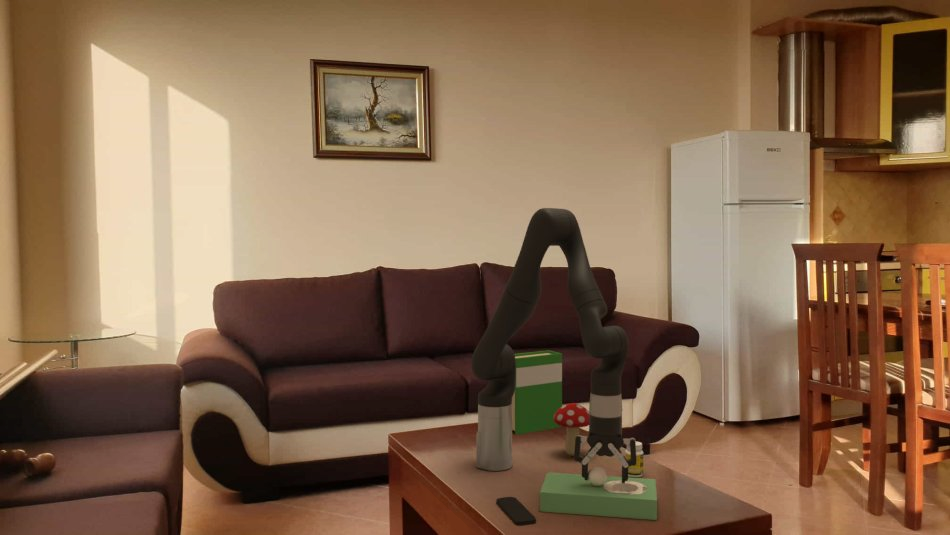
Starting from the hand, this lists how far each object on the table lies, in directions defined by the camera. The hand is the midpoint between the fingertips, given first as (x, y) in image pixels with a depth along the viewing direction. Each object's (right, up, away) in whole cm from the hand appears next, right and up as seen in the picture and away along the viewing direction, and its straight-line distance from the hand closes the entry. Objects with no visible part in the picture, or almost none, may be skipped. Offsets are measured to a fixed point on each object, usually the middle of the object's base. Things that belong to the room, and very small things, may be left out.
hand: (604, 480), depth 176 cm
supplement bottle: (+11, -5, +22) cm, 25 cm away
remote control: (-21, -7, -4) cm, 22 cm away
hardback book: (-12, -2, +67) cm, 68 cm away
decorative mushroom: (-3, -4, +38) cm, 38 cm away
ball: (-2, +1, 0) cm, 2 cm away
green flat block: (-1, -6, +1) cm, 6 cm away
